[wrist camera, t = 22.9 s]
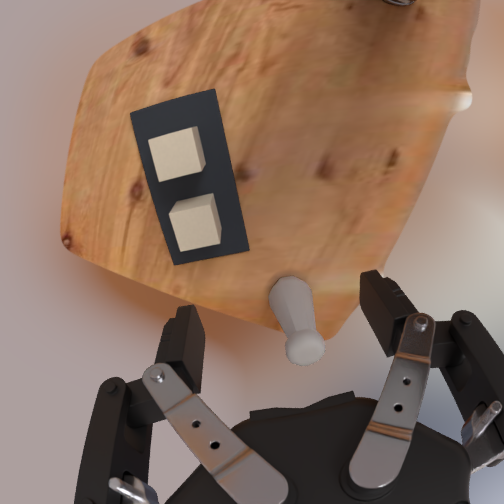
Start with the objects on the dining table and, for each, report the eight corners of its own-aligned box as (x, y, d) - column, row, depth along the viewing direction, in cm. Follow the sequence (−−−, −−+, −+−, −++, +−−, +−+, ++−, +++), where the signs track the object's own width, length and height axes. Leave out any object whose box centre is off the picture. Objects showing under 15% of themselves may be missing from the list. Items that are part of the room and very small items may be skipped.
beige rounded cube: (158, 136, 29) (146, 140, 25) (197, 126, 29) (191, 127, 25) (167, 173, 31) (158, 182, 27) (206, 164, 31) (201, 171, 27)
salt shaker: (258, 295, 40) (268, 365, 28) (281, 263, 38) (301, 329, 26) (292, 310, 42) (311, 378, 30) (316, 280, 40) (344, 346, 28)
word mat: (130, 113, 28) (129, 113, 28) (214, 88, 28) (214, 88, 27) (174, 264, 37) (174, 265, 37) (249, 249, 37) (249, 250, 36)
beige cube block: (175, 201, 33) (167, 214, 29) (213, 192, 33) (210, 204, 29) (185, 235, 35) (179, 252, 31) (221, 228, 35) (220, 243, 31)
